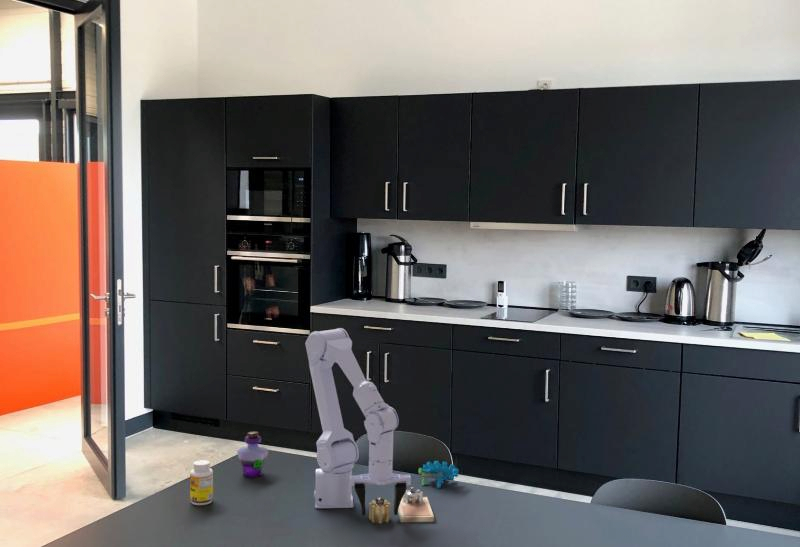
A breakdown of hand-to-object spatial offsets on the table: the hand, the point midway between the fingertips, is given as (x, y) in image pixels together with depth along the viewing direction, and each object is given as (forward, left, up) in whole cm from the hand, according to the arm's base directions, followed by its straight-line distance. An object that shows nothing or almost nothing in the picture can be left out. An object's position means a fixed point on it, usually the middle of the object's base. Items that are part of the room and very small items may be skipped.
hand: (379, 513), depth 190 cm
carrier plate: (+9, +4, -1) cm, 10 cm away
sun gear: (+9, +9, 0) cm, 12 cm away
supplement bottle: (-44, +13, -2) cm, 46 cm away
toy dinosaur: (+18, +24, -2) cm, 30 cm away
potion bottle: (-33, +33, -2) cm, 47 cm away
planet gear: (0, 0, -1) cm, 1 cm away
